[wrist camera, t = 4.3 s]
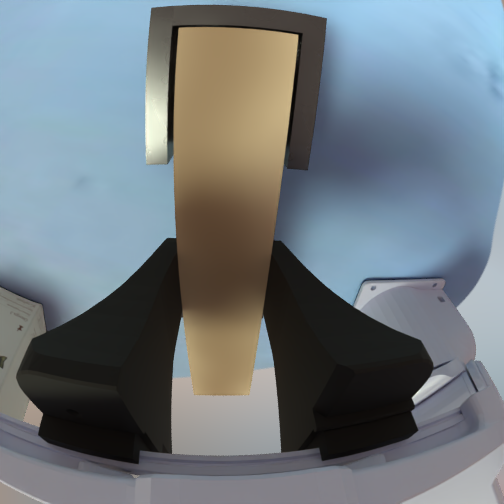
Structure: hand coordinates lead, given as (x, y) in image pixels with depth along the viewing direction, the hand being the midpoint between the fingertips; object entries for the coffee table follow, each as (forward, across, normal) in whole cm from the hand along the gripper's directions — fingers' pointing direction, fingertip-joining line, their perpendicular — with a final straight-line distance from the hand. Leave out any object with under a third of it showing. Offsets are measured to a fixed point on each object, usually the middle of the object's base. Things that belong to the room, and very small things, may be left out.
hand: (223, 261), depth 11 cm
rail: (+3, 0, 0) cm, 3 cm away
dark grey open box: (+7, 0, -6) cm, 10 cm away
